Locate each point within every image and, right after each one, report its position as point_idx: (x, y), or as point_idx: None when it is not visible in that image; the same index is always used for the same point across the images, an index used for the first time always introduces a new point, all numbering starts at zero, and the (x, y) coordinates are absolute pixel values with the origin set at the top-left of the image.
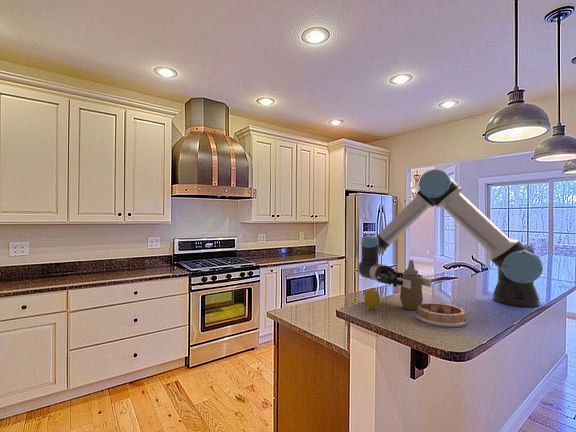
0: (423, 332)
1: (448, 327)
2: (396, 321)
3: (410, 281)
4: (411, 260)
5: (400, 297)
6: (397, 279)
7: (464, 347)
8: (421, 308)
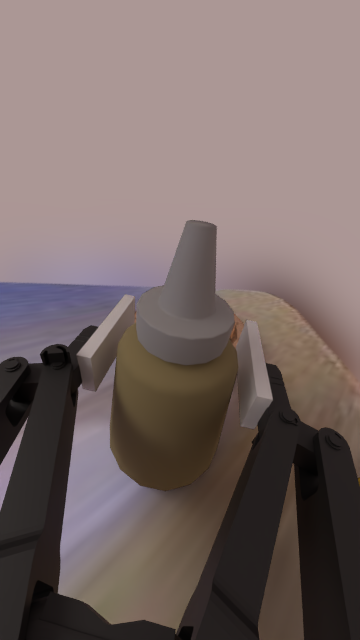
0: (275, 330)
1: None
2: (302, 385)
3: (247, 321)
4: (207, 223)
5: (212, 457)
6: (268, 404)
7: (253, 293)
8: (236, 340)
